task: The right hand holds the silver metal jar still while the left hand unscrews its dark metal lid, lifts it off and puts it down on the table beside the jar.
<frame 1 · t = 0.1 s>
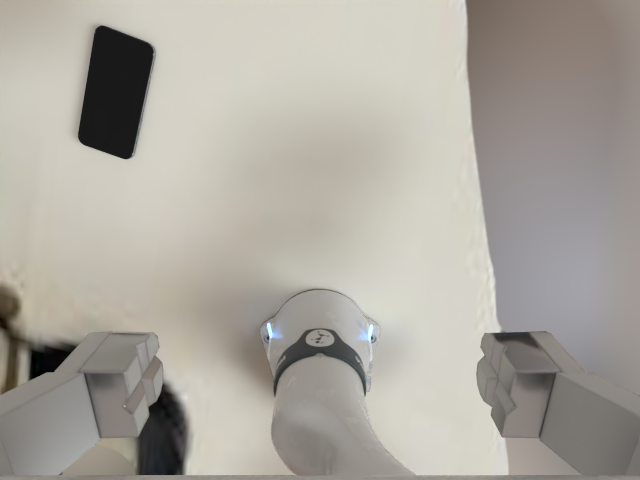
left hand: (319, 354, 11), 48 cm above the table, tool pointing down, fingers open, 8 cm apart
smartphone: (117, 95, 54), on the table
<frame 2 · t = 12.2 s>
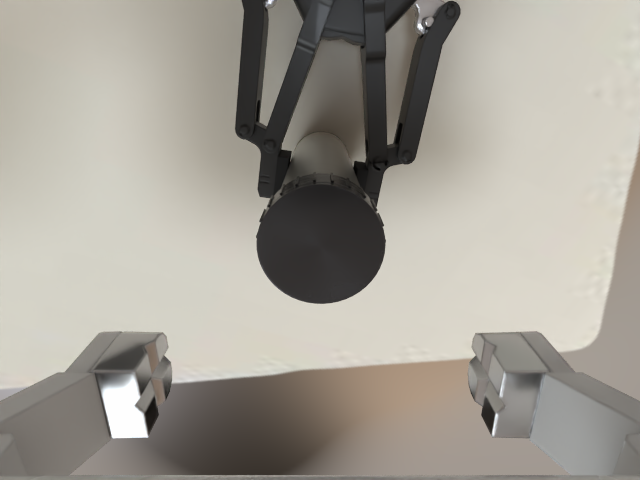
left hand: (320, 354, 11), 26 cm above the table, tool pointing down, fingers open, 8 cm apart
right hand: (310, 244, 31), fingers closed on jar, 5 cm apart
lid: (320, 244, 17), point 19 cm above the table, screwed on, not yet turned
jar: (320, 159, 35), on the table, touching right hand
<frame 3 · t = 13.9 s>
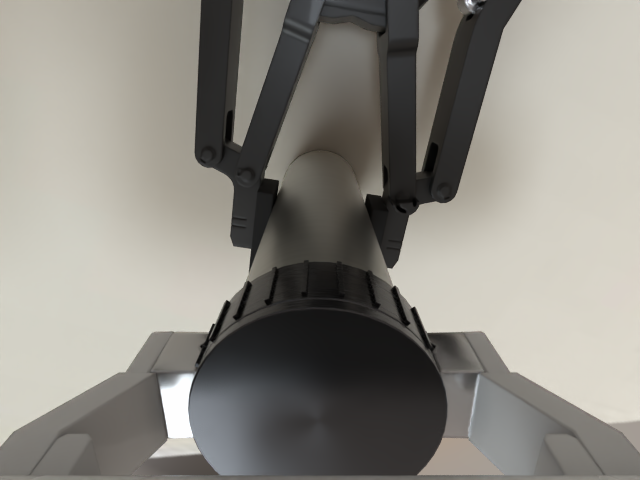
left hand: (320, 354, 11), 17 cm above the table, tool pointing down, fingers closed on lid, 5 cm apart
right hand: (305, 307, 23), fingers closed on jar, 5 cm apart
lid: (317, 408, 9), point 19 cm above the table, screwed on, not yet turned, touching left hand
jar: (320, 186, 27), on the table, touching right hand
when the left hand's fingers open (17 cm above the table, at t = 15.2 s): lid stays where it is, point 19 cm above the table.
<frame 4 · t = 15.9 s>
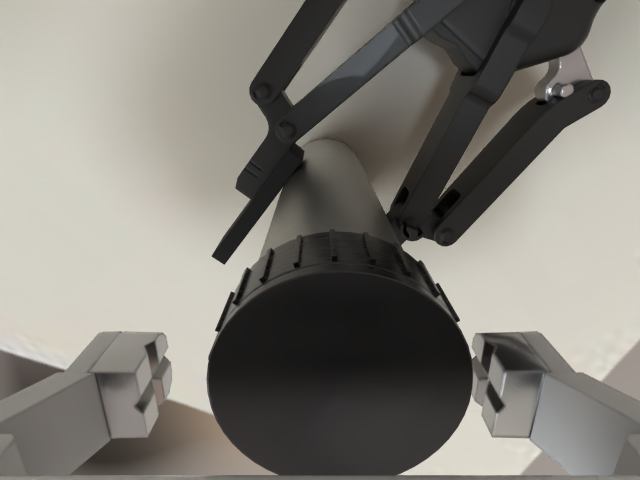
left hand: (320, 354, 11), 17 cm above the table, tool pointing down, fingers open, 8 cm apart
right hand: (266, 277, 22), fingers closed on jar, 5 cm apart
lid: (339, 379, 9), point 19 cm above the table, turned 88° so far, risen 0.2 cm, still on its thread
jar: (325, 175, 27), on the table, touching right hand
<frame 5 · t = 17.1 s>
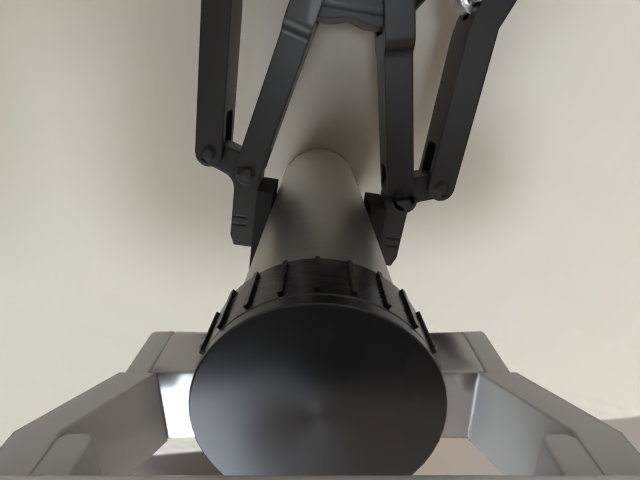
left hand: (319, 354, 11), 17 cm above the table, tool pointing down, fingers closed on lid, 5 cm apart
right hand: (304, 304, 23), fingers closed on jar, 5 cm apart
lid: (318, 404, 9), point 19 cm above the table, turned 88° so far, risen 0.2 cm, still on its thread, touching left hand
jar: (319, 185, 27), on the table, touching right hand
when the left hand's fingers open (2 cm above the table, at t = 24.5 s): lid drops 2 cm, point 2 cm above the table.
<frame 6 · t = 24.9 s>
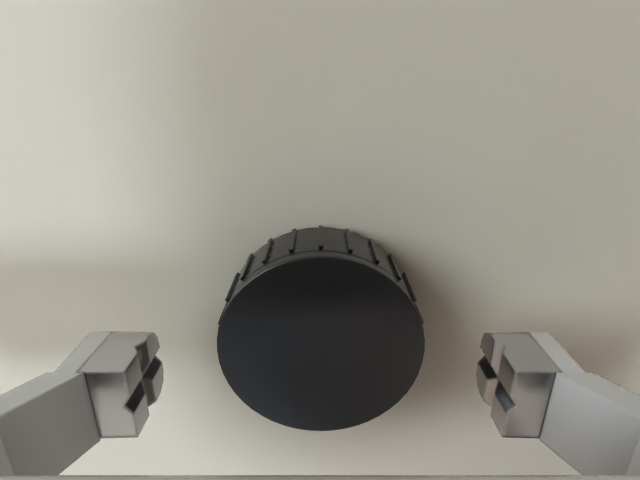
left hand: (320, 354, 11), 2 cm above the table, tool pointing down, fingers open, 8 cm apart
lid: (320, 343, 11), point 2 cm above the table, off its thread
when the right hand's fingers open (6 cm above the table, at t = 25.4 s): jar stays where it is, on the table.
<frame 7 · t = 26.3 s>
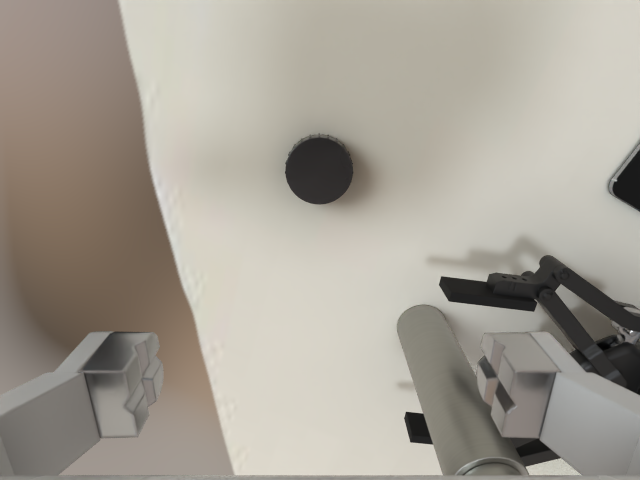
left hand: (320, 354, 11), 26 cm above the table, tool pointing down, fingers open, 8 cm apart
lid: (319, 170, 33), point 2 cm above the table, off its thread
jar: (421, 326, 40), on the table
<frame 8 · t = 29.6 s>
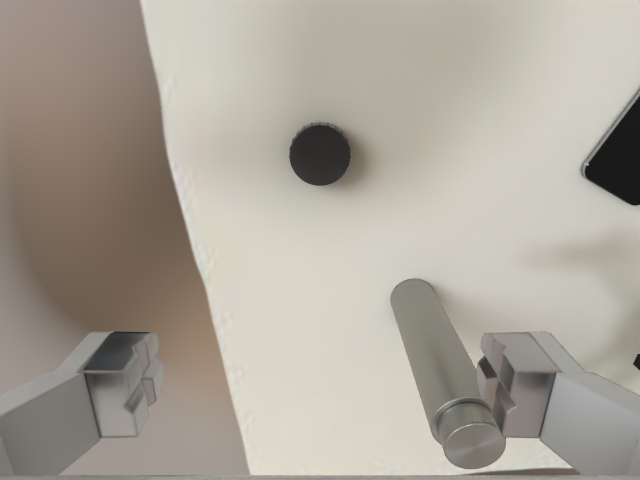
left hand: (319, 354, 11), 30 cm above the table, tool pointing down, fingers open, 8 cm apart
lid: (319, 155, 37), point 2 cm above the table, off its thread
jar: (412, 298, 44), on the table
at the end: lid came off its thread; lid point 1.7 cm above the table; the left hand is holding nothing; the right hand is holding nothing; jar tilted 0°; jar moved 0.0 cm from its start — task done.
